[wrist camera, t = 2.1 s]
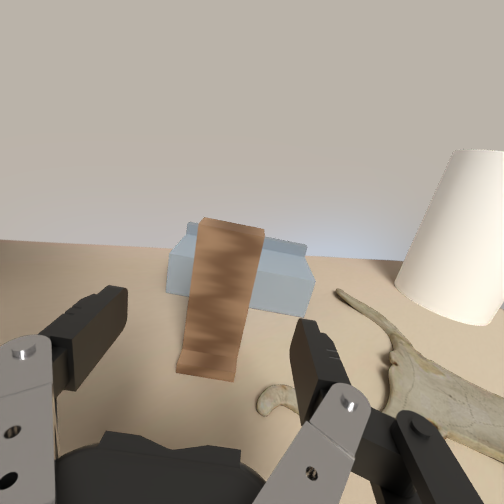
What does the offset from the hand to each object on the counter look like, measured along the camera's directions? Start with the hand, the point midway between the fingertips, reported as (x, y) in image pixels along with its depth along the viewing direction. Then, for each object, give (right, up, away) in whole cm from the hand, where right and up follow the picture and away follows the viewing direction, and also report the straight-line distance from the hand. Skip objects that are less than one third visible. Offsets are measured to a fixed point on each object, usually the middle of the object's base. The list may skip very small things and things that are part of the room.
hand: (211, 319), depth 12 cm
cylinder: (+41, -7, +42) cm, 59 cm away
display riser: (0, -3, +29) cm, 29 cm away
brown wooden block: (-3, -8, +15) cm, 17 cm away
